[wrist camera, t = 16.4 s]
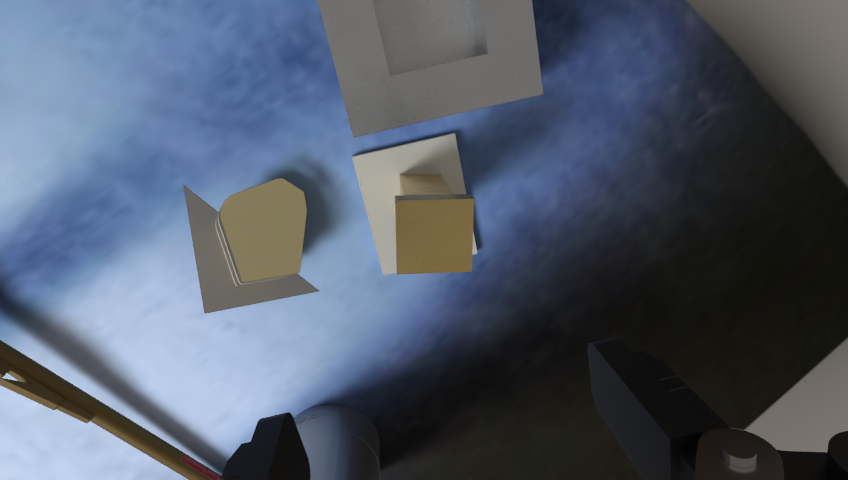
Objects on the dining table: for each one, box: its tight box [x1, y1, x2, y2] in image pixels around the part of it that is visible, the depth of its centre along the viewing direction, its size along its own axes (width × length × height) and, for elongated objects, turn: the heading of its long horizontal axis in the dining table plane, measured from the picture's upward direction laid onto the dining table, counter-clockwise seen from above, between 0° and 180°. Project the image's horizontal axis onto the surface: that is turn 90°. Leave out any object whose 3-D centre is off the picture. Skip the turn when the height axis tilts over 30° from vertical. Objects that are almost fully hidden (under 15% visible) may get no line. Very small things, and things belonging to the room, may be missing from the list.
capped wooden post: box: [395, 174, 474, 274], centre depth 32 cm, size 4×4×11 cm
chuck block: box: [318, 0, 543, 137], centre depth 30 cm, size 14×12×7 cm
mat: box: [352, 133, 478, 275], centre depth 37 cm, size 10×8×1 cm
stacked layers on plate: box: [184, 178, 319, 313], centre depth 35 cm, size 10×9×6 cm
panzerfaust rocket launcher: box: [0, 340, 221, 480], centre depth 39 cm, size 5×35×5 cm, turn 42°
